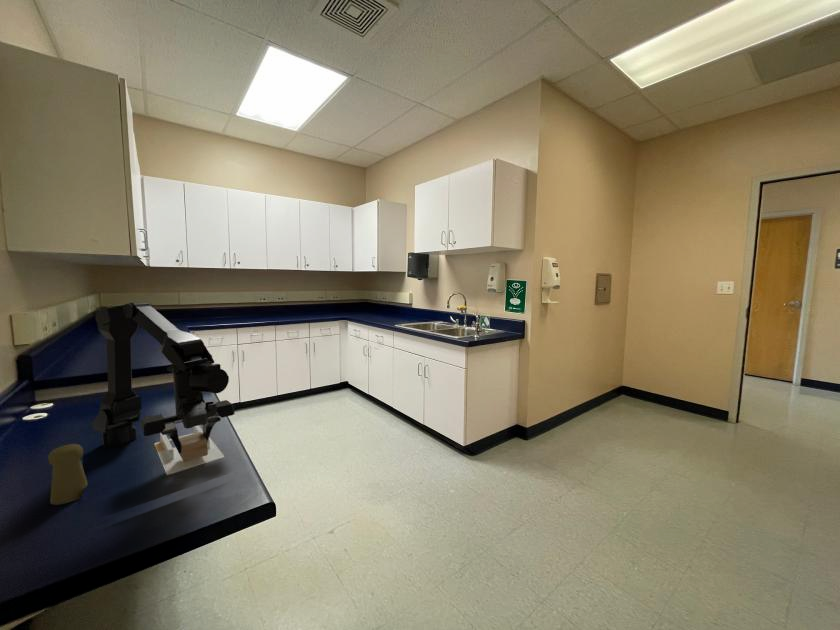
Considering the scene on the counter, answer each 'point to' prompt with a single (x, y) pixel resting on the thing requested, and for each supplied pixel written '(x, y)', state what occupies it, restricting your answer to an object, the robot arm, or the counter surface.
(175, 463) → the white mounting bracket
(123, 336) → the robot arm
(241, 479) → the counter surface
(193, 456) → the walnut block
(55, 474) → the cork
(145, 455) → the counter surface
